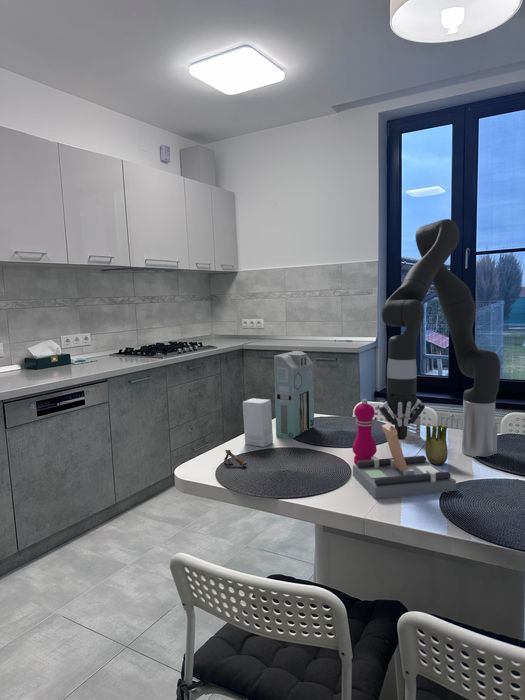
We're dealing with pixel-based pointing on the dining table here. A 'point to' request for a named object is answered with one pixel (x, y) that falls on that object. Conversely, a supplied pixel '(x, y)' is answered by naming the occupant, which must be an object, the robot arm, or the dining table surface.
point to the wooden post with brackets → (233, 458)
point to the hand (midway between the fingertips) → (400, 438)
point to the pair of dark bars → (405, 478)
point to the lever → (395, 447)
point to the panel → (369, 475)
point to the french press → (413, 436)
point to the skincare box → (257, 422)
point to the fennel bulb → (436, 444)
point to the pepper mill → (364, 433)
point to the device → (293, 393)
